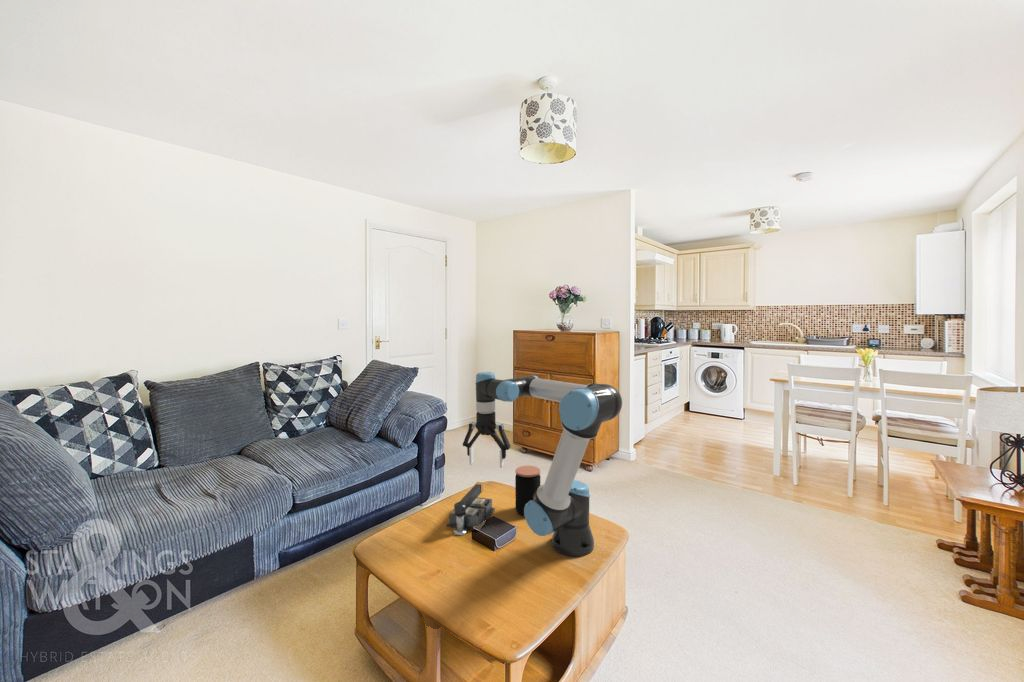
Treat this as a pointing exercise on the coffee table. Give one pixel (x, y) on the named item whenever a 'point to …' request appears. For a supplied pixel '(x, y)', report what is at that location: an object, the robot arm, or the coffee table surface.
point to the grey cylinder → (460, 526)
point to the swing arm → (468, 499)
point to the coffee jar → (526, 486)
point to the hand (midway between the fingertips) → (486, 465)
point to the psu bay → (474, 513)
